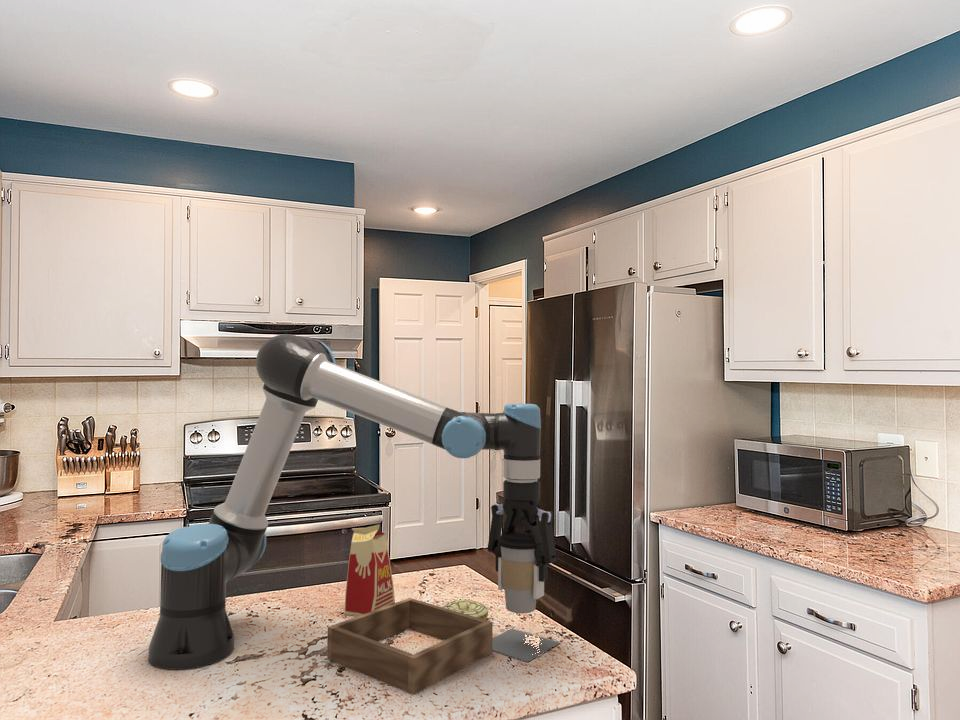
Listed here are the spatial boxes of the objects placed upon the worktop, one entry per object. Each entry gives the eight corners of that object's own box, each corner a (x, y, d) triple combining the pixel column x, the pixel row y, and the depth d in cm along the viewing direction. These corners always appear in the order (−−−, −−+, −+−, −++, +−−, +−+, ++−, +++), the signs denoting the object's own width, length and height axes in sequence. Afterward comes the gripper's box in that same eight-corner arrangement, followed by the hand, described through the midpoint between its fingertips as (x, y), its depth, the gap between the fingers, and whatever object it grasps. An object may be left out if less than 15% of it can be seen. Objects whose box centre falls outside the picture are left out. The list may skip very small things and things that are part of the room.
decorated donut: (429, 621, 148) (429, 604, 148) (465, 610, 156) (465, 594, 156) (461, 635, 141) (461, 616, 141) (497, 622, 148) (497, 605, 148)
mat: (527, 662, 127) (527, 661, 127) (477, 646, 134) (477, 645, 134) (560, 643, 136) (560, 642, 136) (512, 629, 144) (512, 628, 144)
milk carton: (395, 607, 156) (397, 521, 157) (373, 620, 148) (375, 529, 148) (362, 601, 160) (364, 517, 161) (339, 613, 152) (341, 524, 152)
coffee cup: (541, 618, 130) (541, 540, 130) (493, 614, 132) (494, 537, 132) (546, 602, 139) (546, 530, 140) (501, 599, 141) (502, 527, 142)
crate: (413, 694, 113) (413, 658, 114) (326, 658, 127) (327, 627, 127) (492, 653, 131) (492, 622, 131) (409, 625, 145) (409, 597, 145)
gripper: (575, 482, 133) (575, 598, 132) (491, 473, 146) (490, 578, 145) (556, 487, 127) (555, 608, 126) (470, 476, 140) (469, 586, 139)
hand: (520, 592), depth 136 cm, fingers closed on coffee cup, 8 cm apart
